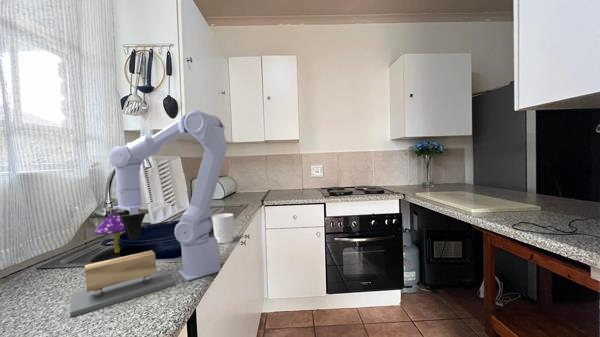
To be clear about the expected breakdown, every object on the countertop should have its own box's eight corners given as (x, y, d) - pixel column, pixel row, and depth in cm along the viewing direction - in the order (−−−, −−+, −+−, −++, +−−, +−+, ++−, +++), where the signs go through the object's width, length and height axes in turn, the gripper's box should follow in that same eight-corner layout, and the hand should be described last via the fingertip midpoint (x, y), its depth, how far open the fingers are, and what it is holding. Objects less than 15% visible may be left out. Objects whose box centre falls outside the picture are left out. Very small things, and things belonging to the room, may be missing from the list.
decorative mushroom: (142, 252, 98) (138, 210, 97) (98, 262, 89) (95, 216, 89) (133, 245, 107) (130, 207, 106) (93, 254, 98) (90, 212, 98)
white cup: (210, 241, 106) (208, 216, 105) (228, 237, 111) (227, 212, 111) (219, 245, 100) (217, 218, 100) (238, 240, 105) (237, 214, 105)
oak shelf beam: (86, 286, 64) (84, 265, 64) (153, 268, 73) (151, 250, 73) (86, 292, 61) (85, 270, 61) (156, 273, 70) (155, 253, 70)
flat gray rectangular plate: (163, 272, 78) (162, 262, 78) (173, 285, 69) (173, 273, 69) (71, 298, 65) (70, 285, 65) (70, 317, 57) (69, 303, 56)
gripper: (109, 189, 81) (113, 235, 82) (114, 192, 70) (118, 245, 70) (137, 187, 86) (140, 230, 86) (145, 189, 74) (149, 239, 75)
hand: (132, 236), depth 79 cm, fingers open, 7 cm apart
